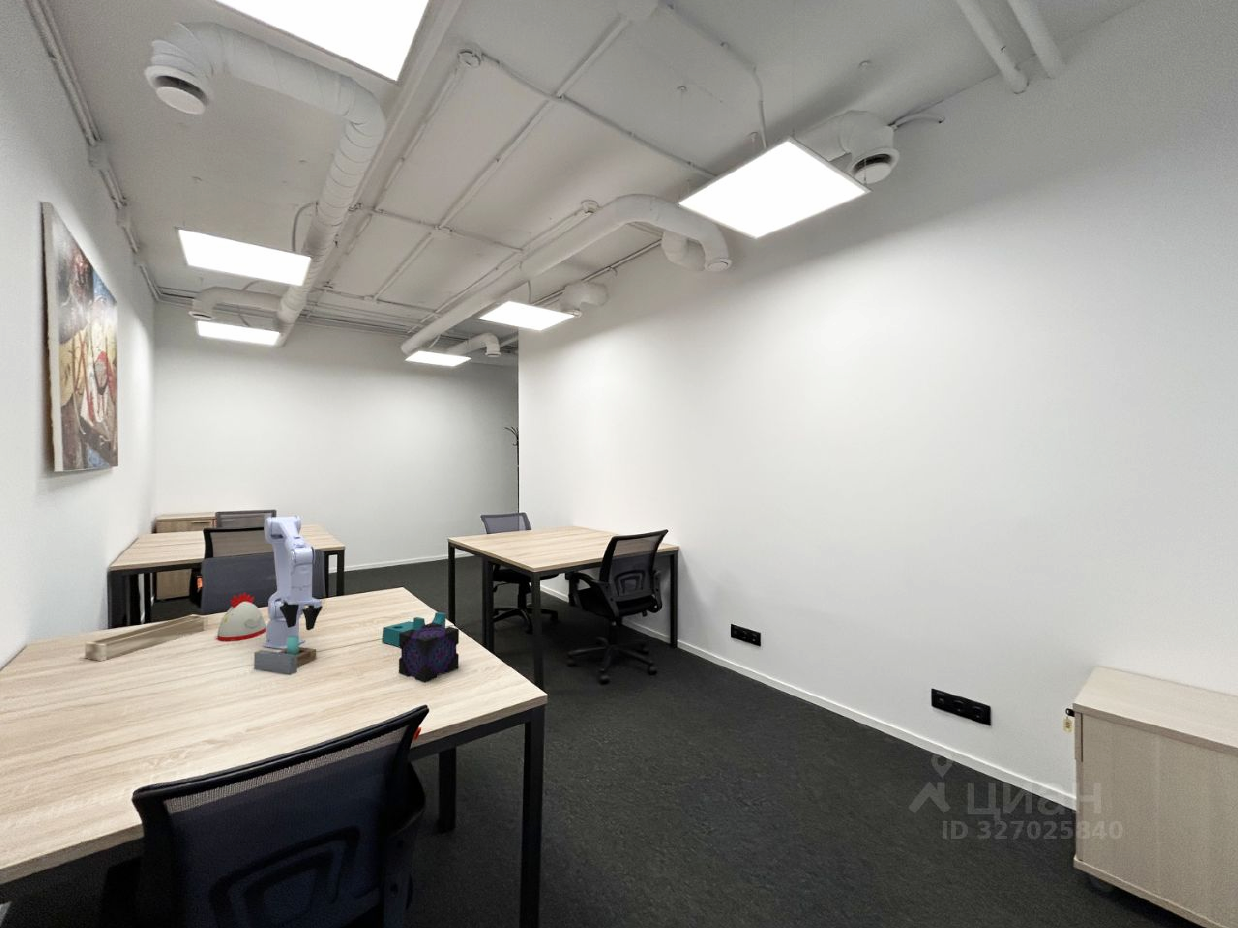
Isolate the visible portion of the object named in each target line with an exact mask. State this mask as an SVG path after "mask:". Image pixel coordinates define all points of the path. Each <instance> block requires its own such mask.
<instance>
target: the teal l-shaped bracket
mask: <svg viewBox="0 0 1238 928" xmlns="http://www.w3.org/2000/svg"><path fill="white" fill-rule="evenodd" d="M446 618H447V613H445V612H439V611H437V612H435V613H434V617H433V620H432V621H430V623H432V622H434V623H438V624H442V627H444V628H446ZM425 621H426V620H425V618H424V617H418V616H414V617H413V620H412V621H410V620H409V621H404V622H401V623H395V624H391V625H387V626H384V627H382V629H383V630H382V638H381V639H382V641H381V642H382V643H385V644H387V645H388V644H389V645H392V646H397V647H399V633H402V632H405V631H408V630H411V629H413V630H418V629H421V626H423V625H426V622H425Z"/></svg>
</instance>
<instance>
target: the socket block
mask: <svg viewBox="0 0 1238 928" xmlns="http://www.w3.org/2000/svg"><path fill="white" fill-rule="evenodd" d="M278 652H279V653H286V654H287V649H282V650H280V651H278ZM316 659H317V649H316V648H310V647H303V646H299V652H298V654H297V668H298V667H301V666H302V665H305V664H307V663H309V662H313V661H314V660H316Z"/></svg>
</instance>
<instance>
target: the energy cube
mask: <svg viewBox="0 0 1238 928" xmlns="http://www.w3.org/2000/svg"><path fill="white" fill-rule="evenodd" d="M431 622H432V621H431ZM431 622H430V623H427V624H426V623H425V625H423V626H421V629H418V630H413V629H411V630H408V631H405V632H402V633H399V646H398V648H399V649H401V655H400V658H398V674H400V675H403V676H405V677H411V676H412V677H414V679H415V680H416V681H419V682H422V683H423V684H425V683H428V682H430V681H432V680H434V679H437V678H438V677H439V675H441V674H442V673H444V674H448V673H450V672H452V671H455V670H456V669H457V670H458V669H459V661H460V660H459V656H460V655H459V653H458V652H457V645H458V644H460V642H459V641H460V638H459V637H460V629H459V628H456V627H452V626H447V627H445V628H444V627H442V624H438V623H434V622H432V623H431Z"/></svg>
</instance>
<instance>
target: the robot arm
mask: <svg viewBox="0 0 1238 928" xmlns="http://www.w3.org/2000/svg"><path fill="white" fill-rule="evenodd" d="M301 526H302V521H301V518H300V516H298V515H294V516H278V517H267V518H266V519H265V520H264V527H263V529H264V539H265V543H267V544H270V545H271V546H272V551H273V557H274V569H275V582H276V591H275V593H273V594H272V595H270V597H269V598H268V601H267V603H268V604H267V605H268V606H267V615H268V619H269V621H268V622H267V623H266V632H265V644H263V645H262V646H263V647H265V648H273V649H280V650H286V649H287V638H288V637H290V636H299V637H300V618H302V617H301V616H302V615H303V616H304V619H305V629H306V631H311V630H313V629H314V628H315V625H316V623H317V620H318V616H319V615H320V612H321V611H322V609H323V605H322V604H323V603H322V600H321V599H317V598H315V597H313V565H314V564H315V561H316V550H315V547H314V546H312V545H308V542H307V541H306V540H305V537H304V536H302V535H300V531H301V528H302V527H301ZM304 642H306V639H302V638H299V644H302V643H304Z"/></svg>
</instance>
